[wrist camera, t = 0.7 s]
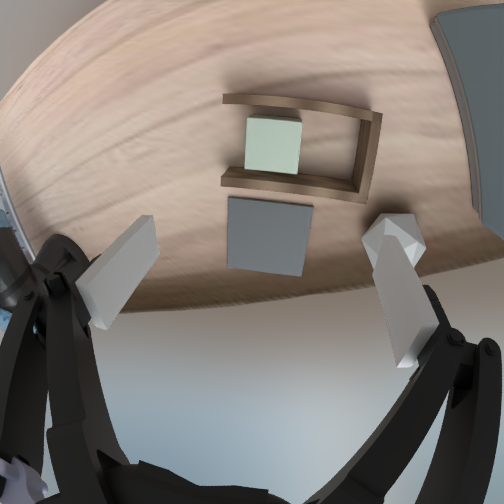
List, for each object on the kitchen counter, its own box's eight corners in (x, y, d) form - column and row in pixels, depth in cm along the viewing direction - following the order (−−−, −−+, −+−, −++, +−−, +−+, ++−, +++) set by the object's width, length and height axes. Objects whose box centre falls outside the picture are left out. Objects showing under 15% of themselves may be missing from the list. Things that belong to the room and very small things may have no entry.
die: (346, 232, 40) (369, 294, 36) (369, 196, 32) (402, 268, 28) (388, 226, 41) (412, 281, 37) (415, 193, 33) (446, 255, 29)
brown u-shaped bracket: (229, 174, 37) (220, 186, 33) (232, 94, 31) (222, 93, 27) (358, 190, 35) (366, 204, 31) (371, 110, 29) (382, 113, 25)
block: (252, 157, 36) (244, 168, 31) (254, 114, 32) (246, 117, 27) (296, 162, 35) (297, 174, 30) (301, 118, 32) (302, 122, 27)
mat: (228, 265, 45) (227, 267, 45) (229, 196, 39) (228, 198, 38) (301, 274, 44) (301, 276, 44) (313, 206, 38) (313, 207, 37)
